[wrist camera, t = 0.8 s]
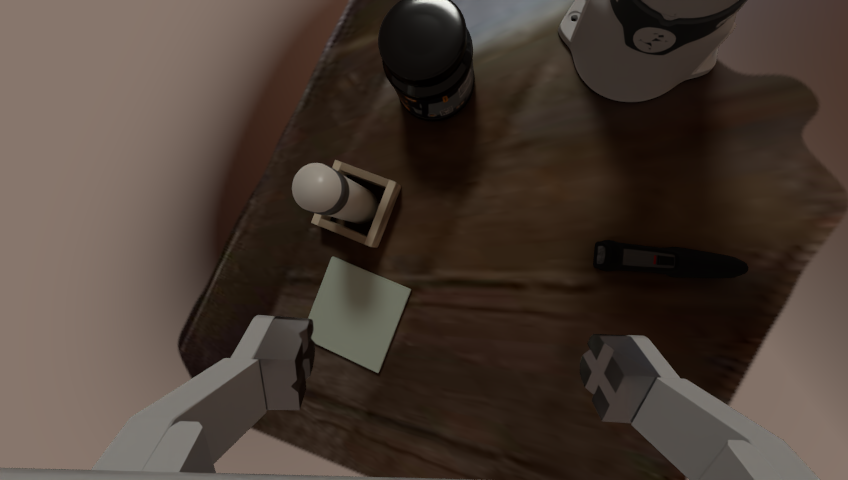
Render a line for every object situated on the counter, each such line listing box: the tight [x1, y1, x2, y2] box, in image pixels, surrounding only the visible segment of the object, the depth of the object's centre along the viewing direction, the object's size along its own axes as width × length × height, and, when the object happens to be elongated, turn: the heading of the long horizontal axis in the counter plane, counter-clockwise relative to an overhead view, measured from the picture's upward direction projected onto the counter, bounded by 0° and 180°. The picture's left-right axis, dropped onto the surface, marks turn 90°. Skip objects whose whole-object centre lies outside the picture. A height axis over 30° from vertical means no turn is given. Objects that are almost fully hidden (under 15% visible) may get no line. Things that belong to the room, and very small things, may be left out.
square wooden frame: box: [311, 160, 401, 248], centre depth 51 cm, size 9×9×3 cm
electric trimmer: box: [593, 240, 748, 278], centre depth 44 cm, size 4×16×3 cm, turn 84°
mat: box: [308, 257, 411, 373], centre depth 51 cm, size 12×12×1 cm
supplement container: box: [378, 0, 475, 121], centre depth 45 cm, size 10×10×12 cm
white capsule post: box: [292, 163, 378, 224], centre depth 45 cm, size 5×5×14 cm
